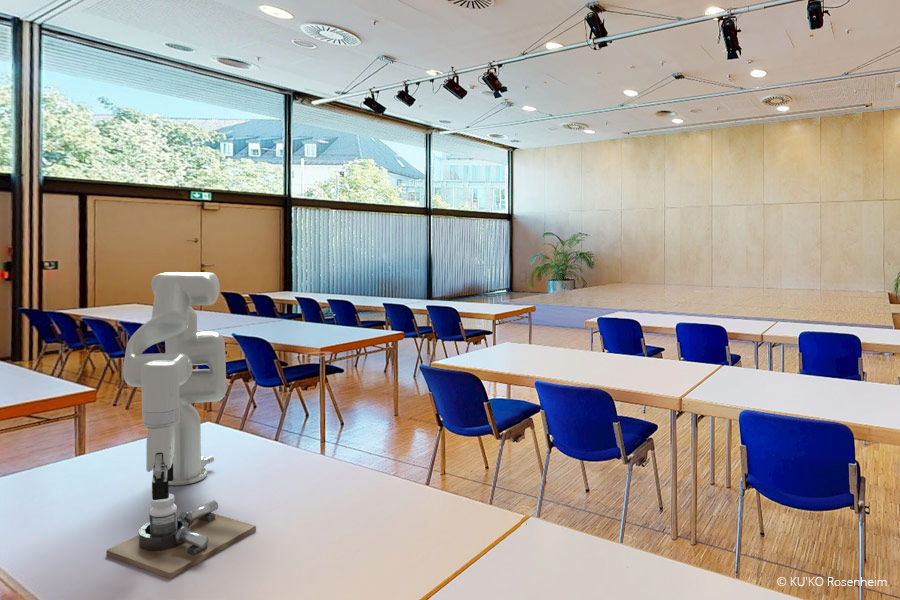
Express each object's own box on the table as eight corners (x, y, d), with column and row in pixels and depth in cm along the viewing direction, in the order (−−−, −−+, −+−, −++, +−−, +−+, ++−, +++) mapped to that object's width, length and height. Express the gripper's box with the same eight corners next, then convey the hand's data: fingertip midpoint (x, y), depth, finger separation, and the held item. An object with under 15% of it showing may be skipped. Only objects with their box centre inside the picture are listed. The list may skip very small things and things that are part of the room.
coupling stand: (196, 513, 154) (195, 492, 154) (255, 530, 146) (255, 508, 145) (106, 555, 133) (105, 531, 132) (170, 578, 124) (169, 552, 124)
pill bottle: (156, 534, 140) (155, 492, 140) (181, 533, 141) (180, 491, 140) (145, 546, 135) (144, 502, 134) (172, 545, 135) (171, 502, 134)
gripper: (148, 406, 142) (150, 476, 144) (136, 429, 126) (138, 508, 128) (183, 404, 145) (184, 473, 147) (175, 426, 128) (177, 504, 130)
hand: (163, 489), depth 137 cm, fingers open, 9 cm apart
